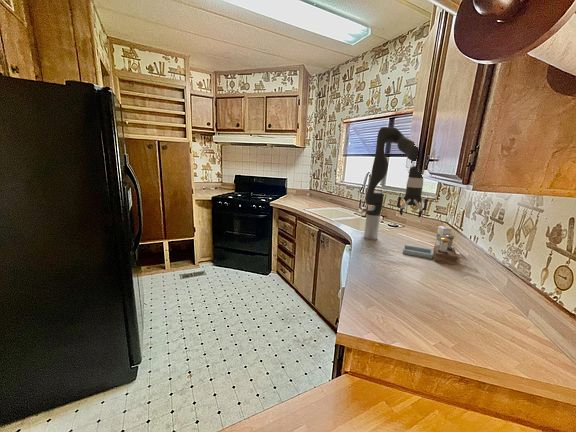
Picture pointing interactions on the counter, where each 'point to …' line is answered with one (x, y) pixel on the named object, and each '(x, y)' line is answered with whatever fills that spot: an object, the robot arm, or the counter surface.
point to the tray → (417, 251)
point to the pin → (450, 241)
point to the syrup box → (442, 234)
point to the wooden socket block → (445, 256)
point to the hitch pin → (444, 245)
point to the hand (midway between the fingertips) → (409, 216)
